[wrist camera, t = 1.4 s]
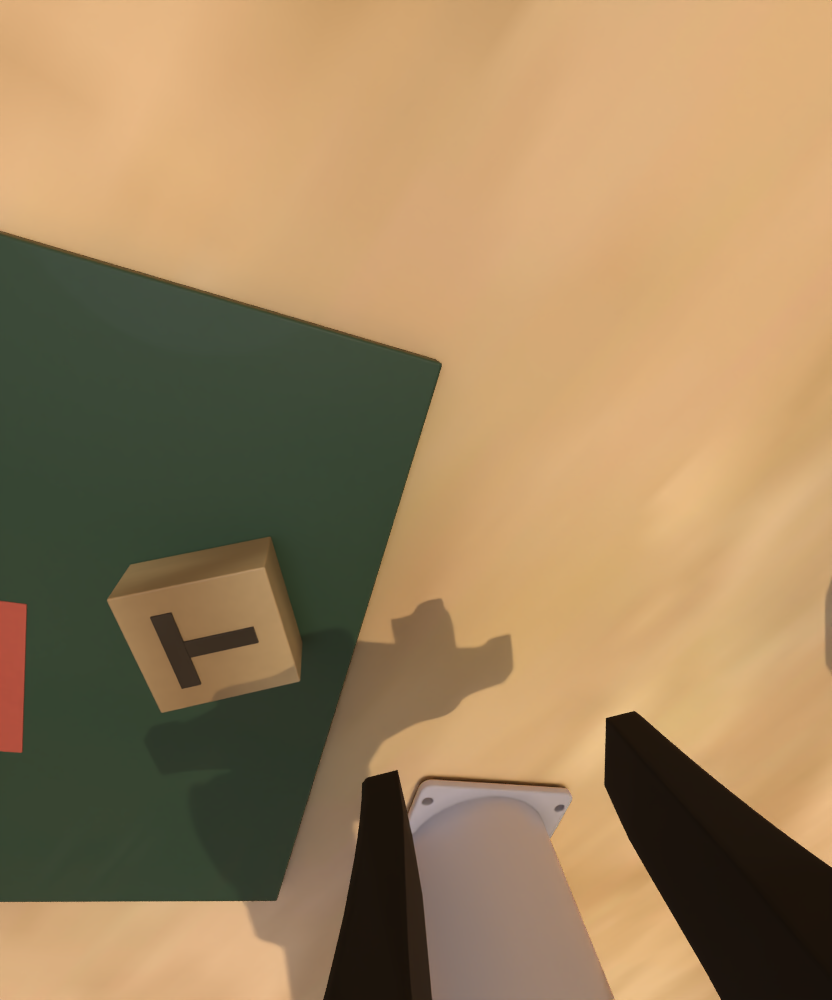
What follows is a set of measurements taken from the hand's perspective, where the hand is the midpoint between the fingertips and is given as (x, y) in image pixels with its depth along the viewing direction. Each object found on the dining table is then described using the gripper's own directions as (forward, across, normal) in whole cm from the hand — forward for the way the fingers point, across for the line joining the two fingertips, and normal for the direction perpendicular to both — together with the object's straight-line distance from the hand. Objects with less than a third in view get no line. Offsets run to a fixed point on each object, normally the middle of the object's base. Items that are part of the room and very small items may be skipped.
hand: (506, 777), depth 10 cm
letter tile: (+9, +7, 0) cm, 11 cm away
